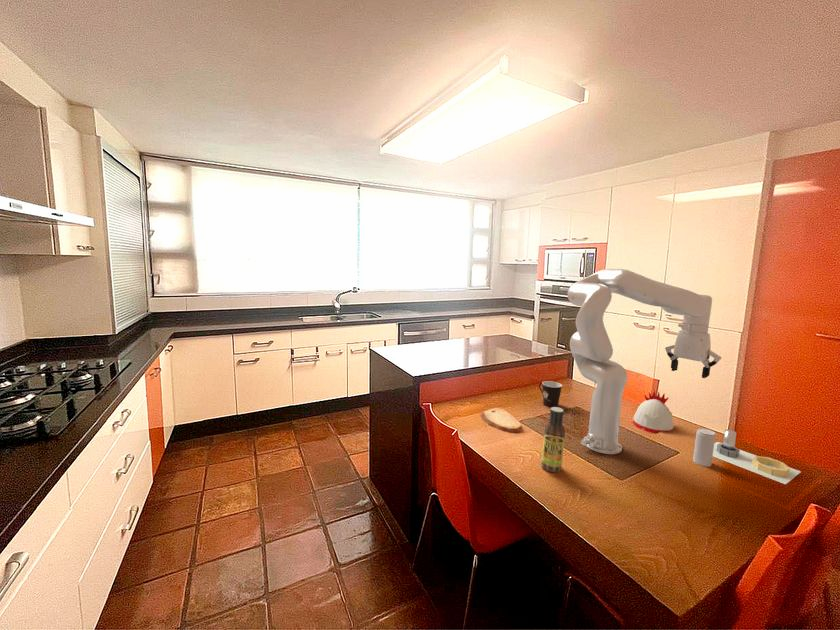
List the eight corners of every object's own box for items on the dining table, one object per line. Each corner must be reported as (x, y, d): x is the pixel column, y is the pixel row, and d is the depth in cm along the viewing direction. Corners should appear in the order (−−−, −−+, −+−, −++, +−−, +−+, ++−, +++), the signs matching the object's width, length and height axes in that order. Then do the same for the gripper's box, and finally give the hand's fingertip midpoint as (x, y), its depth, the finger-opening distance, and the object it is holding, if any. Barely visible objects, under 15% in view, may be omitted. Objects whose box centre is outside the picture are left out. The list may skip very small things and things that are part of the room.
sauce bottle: (540, 470, 114) (544, 410, 111) (541, 460, 120) (545, 403, 117) (562, 475, 112) (566, 414, 109) (562, 465, 118) (566, 407, 115)
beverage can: (711, 471, 115) (716, 436, 114) (693, 466, 118) (697, 432, 116) (709, 464, 119) (714, 430, 118) (691, 460, 122) (696, 426, 120)
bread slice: (522, 435, 139) (523, 426, 138) (476, 427, 144) (476, 418, 144) (525, 417, 156) (525, 409, 155) (483, 411, 161) (483, 403, 161)
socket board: (784, 488, 107) (786, 478, 107) (698, 454, 126) (700, 445, 126) (800, 475, 114) (802, 465, 114) (717, 444, 133) (718, 436, 133)
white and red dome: (672, 437, 138) (676, 400, 136) (630, 427, 146) (634, 392, 144) (673, 425, 149) (678, 390, 147) (635, 416, 157) (638, 383, 155)
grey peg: (731, 456, 123) (734, 434, 122) (720, 452, 125) (723, 430, 124) (734, 454, 124) (738, 432, 123) (724, 450, 127) (727, 428, 126)
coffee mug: (563, 408, 165) (564, 387, 163) (544, 408, 165) (545, 387, 163) (554, 399, 176) (555, 379, 175) (536, 398, 176) (537, 379, 175)
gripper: (663, 325, 136) (658, 369, 139) (720, 333, 122) (713, 382, 124) (673, 324, 140) (667, 366, 143) (728, 331, 126) (721, 379, 128)
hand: (688, 373), depth 134 cm, fingers open, 9 cm apart
